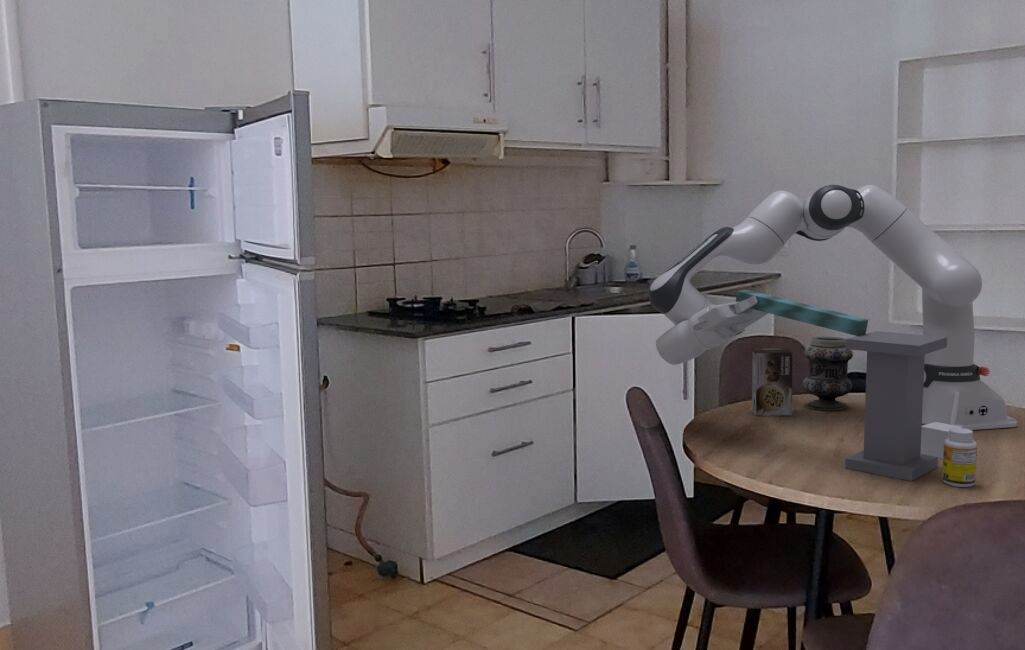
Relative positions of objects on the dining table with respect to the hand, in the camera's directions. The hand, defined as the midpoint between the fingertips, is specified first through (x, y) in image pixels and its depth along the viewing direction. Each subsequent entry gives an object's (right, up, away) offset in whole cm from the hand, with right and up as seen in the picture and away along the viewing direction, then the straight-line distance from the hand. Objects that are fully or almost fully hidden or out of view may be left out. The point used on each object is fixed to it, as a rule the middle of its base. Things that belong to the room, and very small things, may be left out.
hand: (763, 298), depth 199 cm
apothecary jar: (+27, -27, +39) cm, 54 cm away
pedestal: (+21, -34, -16) cm, 43 cm away
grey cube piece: (+35, -33, -7) cm, 49 cm away
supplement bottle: (+29, -36, -27) cm, 53 cm away
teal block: (+6, -4, -5) cm, 9 cm away
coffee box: (+11, -28, +33) cm, 44 cm away
